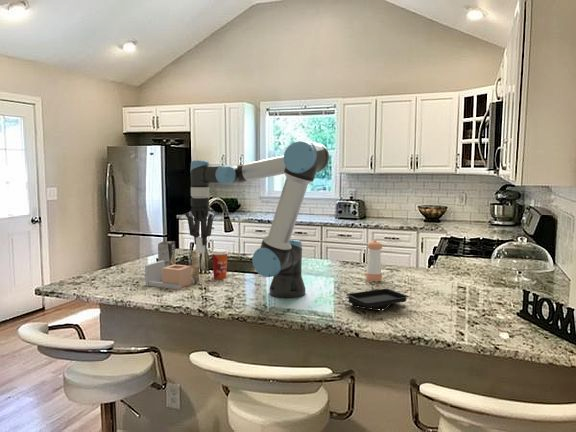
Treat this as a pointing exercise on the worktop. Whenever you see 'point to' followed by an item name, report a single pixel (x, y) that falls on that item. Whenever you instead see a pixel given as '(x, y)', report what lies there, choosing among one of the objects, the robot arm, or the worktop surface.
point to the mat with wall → (157, 276)
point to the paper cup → (219, 263)
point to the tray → (376, 298)
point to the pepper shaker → (374, 262)
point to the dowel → (195, 266)
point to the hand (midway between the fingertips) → (200, 252)
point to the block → (177, 275)
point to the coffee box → (167, 252)
